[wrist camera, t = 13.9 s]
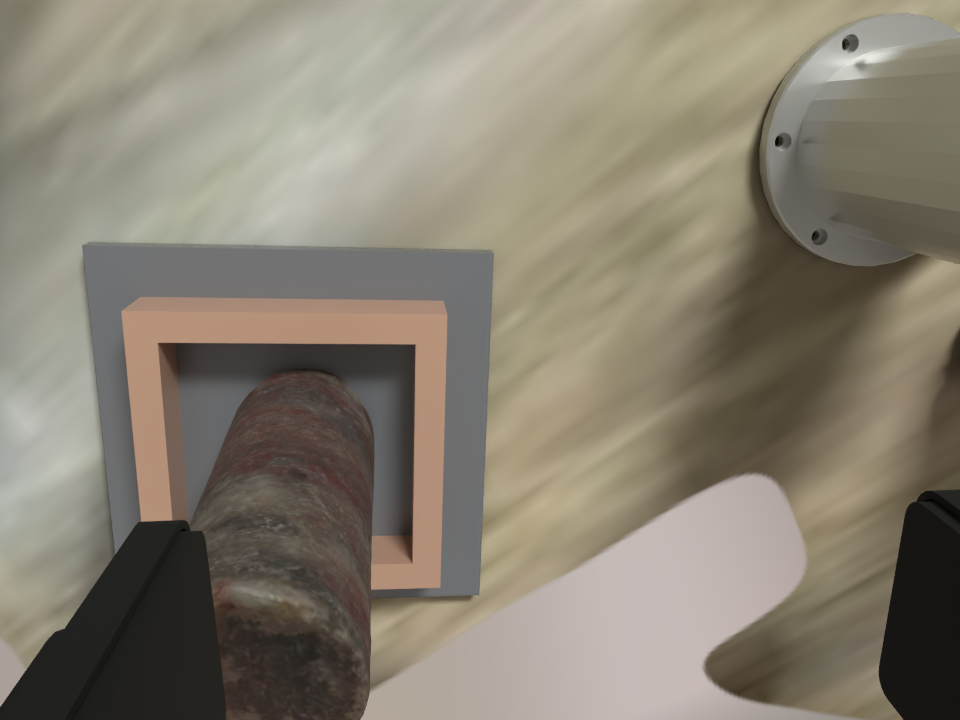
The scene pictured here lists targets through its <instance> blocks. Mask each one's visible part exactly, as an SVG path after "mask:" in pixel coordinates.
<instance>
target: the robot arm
mask: <svg viewBox="0 0 960 720" xmlns="http://www.w3.org/2000/svg"><path fill="white" fill-rule="evenodd" d="M843 41H844V43H845V46H844V49H842V42H843ZM776 137H778V138H779V143H778V145H777V146H775V139H776ZM760 175H761V180H762V186H763V191H764V194H765V197H766V199H767V202H768V204H769V207H770V209H771V212H772V214H773V215H774V217H775V218H776V220H777V221H778V223H779V224H780V226H781V227H782V229H783V230H784V231H785V232H786V233H787V234H788V235H789V236H790V237H791V238H792V239H793V240H794V241H795V242H796V243H797V244H798V245H800V246H801V247H803V248H805V249H806V250H808V251H810V252H811V253H813V254H815V255H817V256H820V257H822V258H825V259H828V260H830V261H833V262H838V263H842V264H846V265H851V266H877V265H882V264H888V263H894V262H897V261H899V260H902V259H905V258H907V257H910V256H913V255H915V254H917V253H919V254H923V255H926V256H930V257H934V258H938V259H941V260H945V261H949V262H953V263H957V264H960V33H959V32H958V31H956V30H955V29H954V28H952V27H951V26H950V25H947V24H945V23H943V22H940V21H938V20H935V19H933V18H931V17H927V16H921V15H915V14H909V13H901V14H883V15H879V16H874V17H869V18H864V19H861V20H859V21H856V22H853V23H851V24H848V25H845V26H843V27H840V28H839V29H837V30H835V31H834V32H832V33H830V34H829V35H827V36H826V37H824V38H822V39H821V40H819V41H818V42H817V43H816V44H815V45H814V46H812V47H811V48H810V49H809V50H808V51H807V52H806V53H805V54H803V55H802V56H801V57H800V58H799V60H798V61H797V62H796V63H795V65H794V66H793V67H792V68H791V70H790V71H789V72H788V73H787V75H786V76H785V77H784V79H783V81H782V83H781V84H780V86H779V88H778V90H777V92H776V93H775V95H774V97H773V99H772V101H771V104H770V107H769V110H768V113H767V115H766V118H765V121H764V125H763V131H762V136H761V142H760ZM813 232H815V236H814V237H813V238H812V234H813ZM879 679H880V683H881V687H882V690H883V692H884V694H885V696H886V697H887V699H888V700H889V702H890V703H891V704H892V705H893V707H894V708H895V709H896V710H897V712H898V713H899V714H900V716H901V717H902V718H903V719H904V720H960V490H940V491H925V492H924V493H922V494H921V495H920V496H919V498H918V499H917V502H913V503H911V504H910V505H909V506H908V508H907V510H906V513H905V518H904V524H903V530H902V536H901V542H900V548H899V553H898V559H897V565H896V571H895V577H894V583H893V588H892V594H891V600H890V606H889V612H888V618H887V624H886V629H885V635H884V641H883V647H882V653H881V659H880V665H879ZM0 720H226V700H225V692H224V684H223V676H222V668H221V660H220V652H219V644H218V636H217V628H216V620H215V611H214V603H213V595H212V587H211V579H210V571H209V563H208V555H207V547H206V540H205V536H204V533H203V532H202V531H191V529H190V527H189V524H188V522H187V521H186V520H170V521H144V522H138V523H137V524H136V525H135V527H134V528H133V529H132V531H131V532H130V534H129V535H128V537H127V538H126V540H125V541H124V543H123V544H122V546H121V547H120V548H119V550H118V551H117V553H116V554H115V556H114V557H113V559H112V560H111V562H110V563H109V565H108V566H107V567H106V569H105V570H104V572H103V573H102V575H101V576H100V578H99V579H98V581H97V582H96V584H95V585H94V586H93V588H92V589H91V591H90V592H89V594H88V595H87V597H86V598H85V600H84V601H83V603H82V604H81V605H80V607H79V608H78V610H77V611H76V613H75V614H74V616H73V617H72V619H71V620H70V622H69V623H68V624H67V626H66V627H65V629H62V630H59V631H57V632H55V633H54V634H53V635H52V636H51V637H50V638H49V639H48V640H47V641H46V643H45V644H44V646H43V647H42V649H41V650H40V651H39V653H38V654H37V656H36V657H35V658H34V660H33V661H32V663H31V664H30V666H29V667H28V668H27V670H26V671H25V673H24V674H23V676H22V677H21V678H20V680H19V681H18V683H17V684H16V686H15V687H14V688H13V690H12V691H11V693H10V694H9V696H8V697H7V699H6V700H5V701H4V703H3V704H2V706H1V707H0Z"/></svg>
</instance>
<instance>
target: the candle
mask: <svg viewBox="0 0 960 720" xmlns="http://www.w3.org/2000/svg"><path fill="white" fill-rule="evenodd" d="M373 492H374V433H373V427H372V423H371V419H370V416H369V414H368V412H367V410H366V408H365V406H364V404H363V402H362V401H361V400H360V399H359V397H358V396H357V395H356V394H355V393H354V392H353V391H352V390H351V388H350V387H349V386H348V385H347V384H346V383H345V382H344V381H343V380H342V379H340V378H339V377H338V376H336V375H333V374H331V373H328V372H325V371H322V370H316V369H299V370H288V371H283V372H280V373H277V374H274V375H272V376H270V377H269V378H267V379H265V380H264V381H263V382H261V383H260V384H259V385H258V386H257V387H256V388H255V389H253V390H252V391H251V392H250V393H249V394H248V396H247V397H246V398H245V399H244V401H243V402H242V403H241V405H240V406H239V408H238V409H237V412H236V414H235V416H234V419H233V421H232V423H231V426H230V428H229V430H228V433H227V435H226V437H225V440H224V442H223V445H222V448H221V450H220V453H219V455H218V458H217V460H216V462H215V465H214V468H213V470H212V473H211V475H210V477H209V480H208V482H207V484H206V487H205V489H204V491H203V493H202V495H201V497H200V500H199V503H198V505H197V508H196V510H195V513H194V515H193V518H192V520H191V522H190V524H189V527H190V529H191V531H202V532H203V533H204V536H205V540H206V547H207V555H208V563H209V571H210V579H211V587H212V595H213V603H214V611H215V620H216V628H217V636H218V644H219V652H220V660H221V668H222V676H223V684H224V692H225V700H226V720H360V719H361V717H362V716H363V714H364V711H365V708H366V705H367V701H368V697H369V692H370V654H371V635H370V612H371V559H372V549H371V547H372V515H373Z"/></svg>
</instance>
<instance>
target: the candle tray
mask: <svg viewBox="0 0 960 720" xmlns="http://www.w3.org/2000/svg"><path fill="white" fill-rule="evenodd" d="M82 249H83V258H84V267H85V277H86V286H87V295H88V305H89V314H90V324H91V333H92V342H93V352H94V361H95V370H96V380H97V389H98V398H99V408H100V417H101V427H102V436H103V445H104V455H105V464H106V473H107V483H108V492H109V501H110V511H111V520H112V530H113V539H114V548H115V554H116V553H117V551H118V550H119V548H120V547H121V546H122V544H123V543H124V541H125V540H126V538H127V537H128V535H129V534H130V532H131V531H132V529H133V528H134V527H135V525H136V524H137V523H138V522H144V521H170V520H186V521H187V522H188V524H190V522H191V520H192V518H193V515H194V513H195V510H196V508H197V505H198V503H199V500H200V497H201V495H202V493H203V491H204V489H205V487H206V484H207V482H208V480H209V477H210V475H211V473H212V470H213V468H214V465H215V462H216V460H217V458H218V455H219V453H220V450H221V448H222V445H223V442H224V440H225V437H226V435H227V433H228V430H229V428H230V426H231V423H232V421H233V419H234V416H235V414H236V412H237V409H238V408H239V406H240V405H241V403H242V402H243V401H244V399H245V398H246V397H247V396H248V394H249V393H250V392H251V391H252V390H253V389H255V388H256V387H257V386H258V385H259V384H260V383H261V382H263V381H264V380H265V379H267V378H269V377H270V376H272V375H274V374H277V373H280V372H283V371H288V370H299V369H316V370H322V371H325V372H328V373H331V374H333V375H336V376H338V377H339V378H340V379H342V380H343V381H344V382H345V383H346V384H347V385H348V386H349V387H350V388H351V390H352V391H353V392H354V393H355V394H356V395H357V396H358V397H359V399H360V400H361V401H362V402H363V404H364V406H365V408H366V410H367V412H368V414H369V416H370V419H371V423H372V427H373V433H374V492H373V515H372V547H371V549H372V559H371V598H396V597H431V596H466V595H479V588H480V565H481V541H482V517H483V494H484V470H485V447H486V423H487V399H488V376H489V352H490V328H491V305H492V281H493V258H494V253H493V252H492V250H455V249H405V248H355V247H306V246H256V245H206V244H156V243H106V242H89V243H86V244H84V245H82Z"/></svg>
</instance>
